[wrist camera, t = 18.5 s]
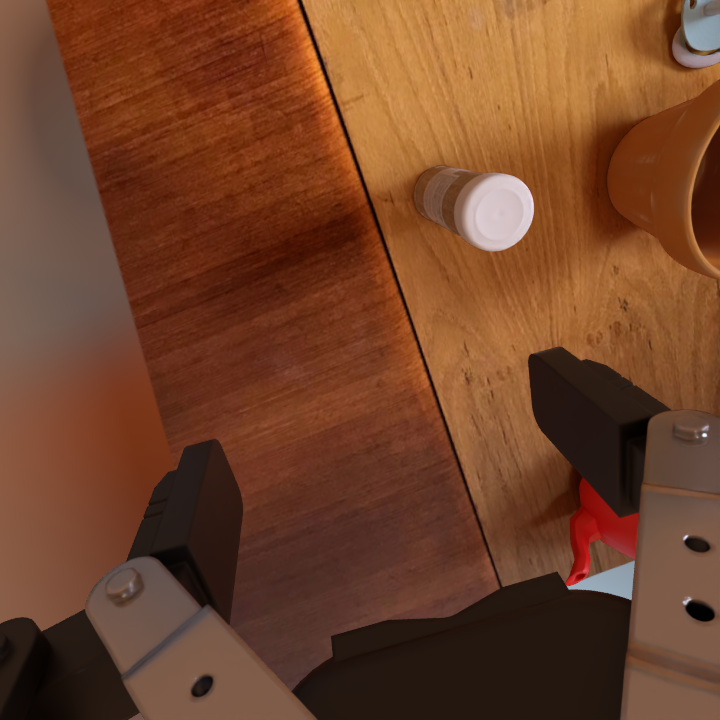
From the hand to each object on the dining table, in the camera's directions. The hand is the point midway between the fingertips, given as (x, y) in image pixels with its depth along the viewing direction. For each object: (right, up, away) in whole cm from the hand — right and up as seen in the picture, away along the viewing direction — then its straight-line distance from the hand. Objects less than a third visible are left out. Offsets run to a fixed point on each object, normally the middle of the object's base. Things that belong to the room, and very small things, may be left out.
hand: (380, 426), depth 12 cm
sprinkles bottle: (+6, +16, +29) cm, 34 cm away
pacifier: (+27, +28, +27) cm, 47 cm away
